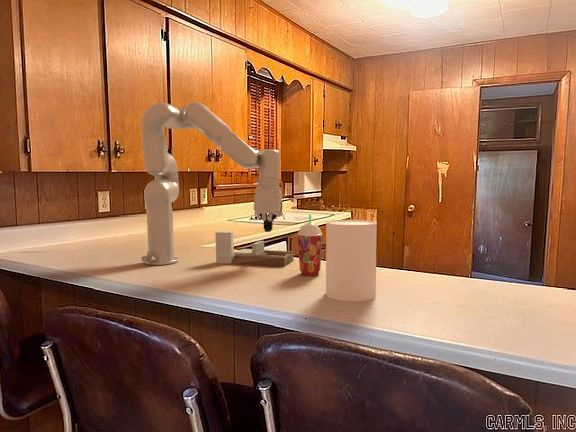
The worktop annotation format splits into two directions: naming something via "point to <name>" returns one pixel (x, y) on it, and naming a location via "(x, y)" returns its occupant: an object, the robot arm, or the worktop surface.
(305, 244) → the smoothie
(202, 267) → the worktop surface
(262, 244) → the cover
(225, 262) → the skincare box
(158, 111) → the robot arm
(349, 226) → the canister
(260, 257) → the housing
